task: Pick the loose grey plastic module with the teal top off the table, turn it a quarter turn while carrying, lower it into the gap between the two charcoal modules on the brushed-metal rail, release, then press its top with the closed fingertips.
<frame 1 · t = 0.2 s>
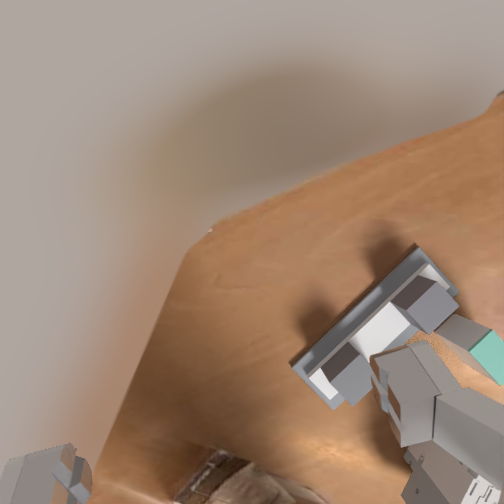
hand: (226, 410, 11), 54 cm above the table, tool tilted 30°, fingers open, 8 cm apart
circuit breaker: (424, 459, 70), on the table
rail assembly: (374, 328, 67), on the table
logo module: (457, 337, 68), on the table
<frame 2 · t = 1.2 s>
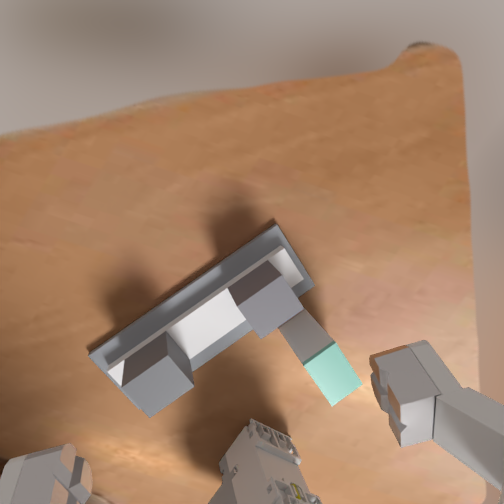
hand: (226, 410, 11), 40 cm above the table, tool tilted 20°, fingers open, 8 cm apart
circuit breaker: (243, 465, 61), on the table
rail assembly: (205, 316, 53), on the table
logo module: (304, 336, 57), on the table
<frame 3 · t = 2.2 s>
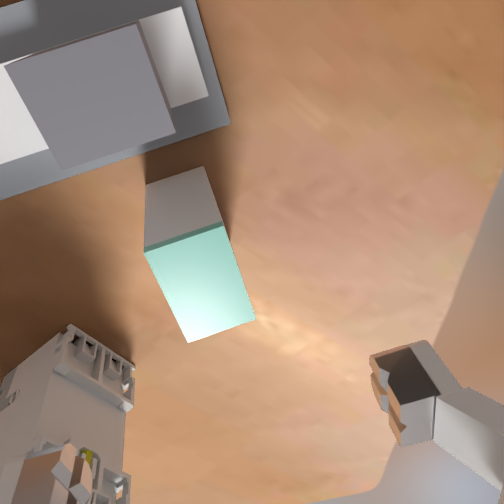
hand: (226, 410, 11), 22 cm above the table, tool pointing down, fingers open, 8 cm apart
circuit breaker: (48, 387, 38), on the table
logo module: (190, 215, 32), on the table
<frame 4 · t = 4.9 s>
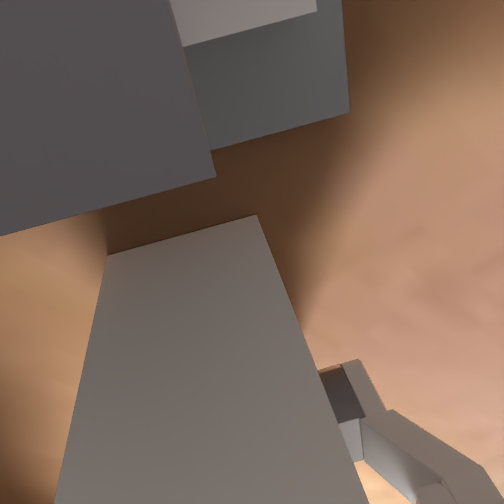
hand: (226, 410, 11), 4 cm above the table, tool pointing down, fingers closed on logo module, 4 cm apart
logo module: (213, 319, 14), on the table, touching gripper
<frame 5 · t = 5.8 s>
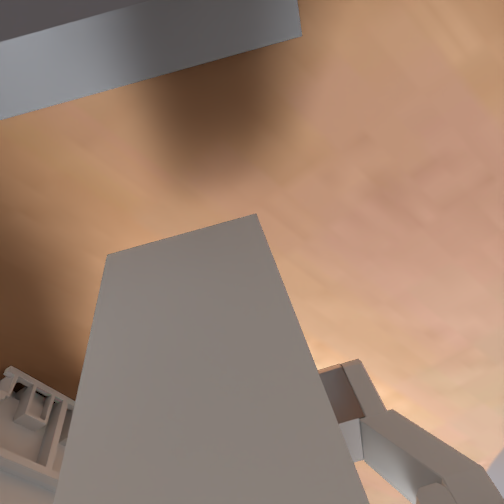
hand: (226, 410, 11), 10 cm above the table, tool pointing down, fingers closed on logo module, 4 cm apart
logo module: (213, 318, 14), point 6 cm above the table, touching gripper
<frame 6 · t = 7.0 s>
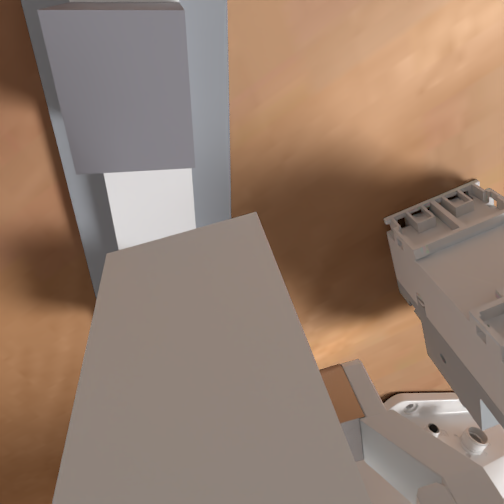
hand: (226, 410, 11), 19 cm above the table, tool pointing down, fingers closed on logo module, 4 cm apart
circuit breaker: (437, 265, 36), on the table
rail assembly: (153, 187, 27), on the table
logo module: (213, 317, 14), point 15 cm above the table, touching gripper
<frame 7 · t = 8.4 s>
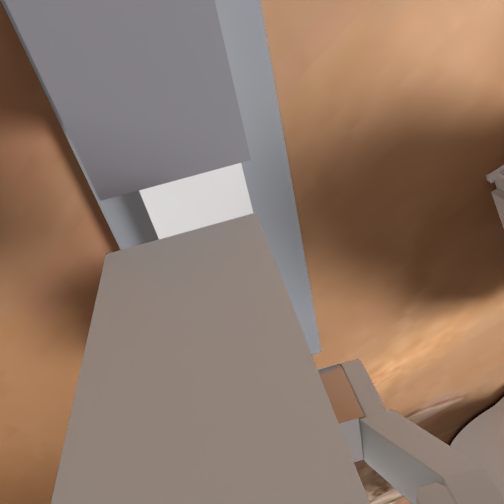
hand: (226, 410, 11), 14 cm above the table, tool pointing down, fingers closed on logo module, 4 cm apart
rail assembly: (199, 195, 23), on the table
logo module: (212, 318, 14), point 10 cm above the table, touching gripper
when the fingers open (8 cm above the table, at t = 9.9 s): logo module drops 2 cm, resting on rail assembly.
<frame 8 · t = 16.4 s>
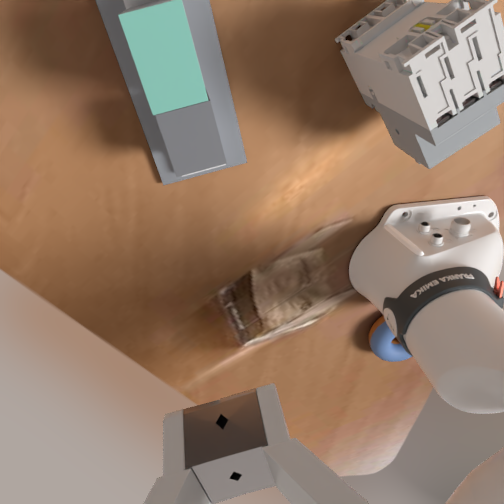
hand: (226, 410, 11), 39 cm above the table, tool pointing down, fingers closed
circuit breaker: (390, 75, 46), on the table
rail assembly: (166, 41, 41), on the table
doughnut: (392, 326, 69), on the table
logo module: (166, 44, 39), point 2 cm above the table, touching rail assembly
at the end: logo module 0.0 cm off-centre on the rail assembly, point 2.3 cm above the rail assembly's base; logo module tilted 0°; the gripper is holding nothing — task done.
